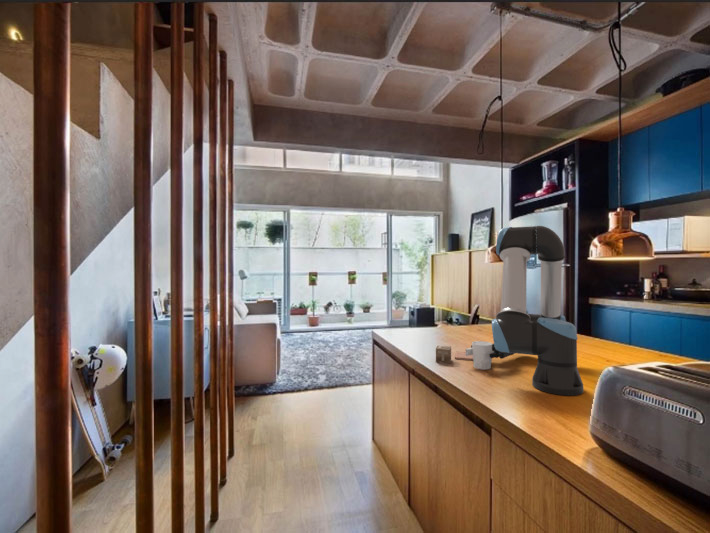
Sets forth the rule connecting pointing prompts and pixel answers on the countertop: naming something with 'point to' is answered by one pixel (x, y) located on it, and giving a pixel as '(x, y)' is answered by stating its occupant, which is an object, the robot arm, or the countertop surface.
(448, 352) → the letter block
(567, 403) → the countertop surface
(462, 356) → the coaster
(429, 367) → the countertop surface
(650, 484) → the countertop surface
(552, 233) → the robot arm
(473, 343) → the white cup
